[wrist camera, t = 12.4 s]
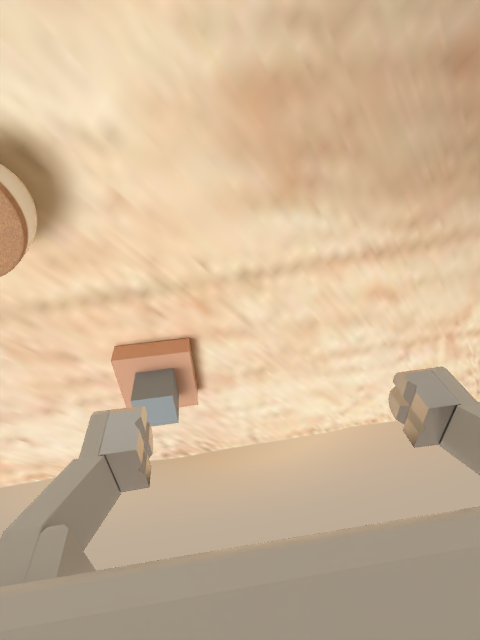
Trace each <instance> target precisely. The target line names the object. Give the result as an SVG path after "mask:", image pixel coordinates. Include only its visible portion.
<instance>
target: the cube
mask: <svg viewBox="0 0 480 640" xmlns="http://www.w3.org/2000/svg"><path fill="white" fill-rule="evenodd" d="M131 404H132V407H142V406H144V407H145V409H146V412H147V422H148V423H150V425H151V426H157V425H165V424H172V423H178V417H179V392H178V388H177V383H176V378H175V373H174V368H170V369H162V370H154V371H146V372H138V373H135V378H134V384H133V390H132V396H131Z"/></svg>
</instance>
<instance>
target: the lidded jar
mask: <svg viewBox="0 0 480 640" xmlns="http://www.w3.org/2000/svg"><path fill="white" fill-rule="evenodd" d="M36 229H37V212H36V208H35V204H34V201H33V199H32V196H31V195H30V193H29V191H28V189H27V188H26V187H25V185H24V184H23V183H22V181H21V180H20V179H19V178H18V177H17V176H16V175H15V174H14V173H12V172H11V171H10V170H9V169H8V168H6V167H5V166H3V165H1V164H0V277H1V276H3V275H5V274H7V273H8V272H10V271H11V270H12V269H13V268H14V267H15V266H16V265H17V264H18V263H19V262H20V261H21V259H22V257H23V255H24V254H25V253H26V252H27V251H28V249H29V247H30V245H31V244H32V242H33V240H34V237H35V233H36Z"/></svg>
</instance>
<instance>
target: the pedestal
mask: <svg viewBox="0 0 480 640" xmlns="http://www.w3.org/2000/svg"><path fill="white" fill-rule="evenodd" d="M111 363H112V366H113V369H114V372H115V375H116V378H117V381H118V384H119V387H120V390H121V393H122V396H123V398H124V401H125V404H126V407H127V408H132V404H131V396H132V390H133V384H134V378H135V373H138V372H146V371H154V370H162V369H170V368H174V373H175V378H176V383H177V388H178V392H179V407H184V406H191V405H198V389H197V383H196V377H195V371H194V365H193V359H192V352H191V346H190V340H189V338H184V339H175V340H167V341H158V342H150V343H141V344H132V345H124V346H115V347H114V351H113V355H112V359H111Z"/></svg>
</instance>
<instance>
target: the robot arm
mask: <svg viewBox="0 0 480 640" xmlns="http://www.w3.org/2000/svg"><path fill="white" fill-rule="evenodd" d="M393 382H394V384H395V385H396V386H395V387H394V388H393V389H392V390H391V391H390V394H389V406H390V409H391V412H392V414H393V415H394V417H395V419H396V420H398V421H400V422H401V423H403V424H404V427H403V431H404V433H405V434H406V436H407V438H408V439H409V441H410V442H411V444H412V445H413V447H414V448H415V447H423V446H431V445H440V446H441V447H442V448H443V449H445V450H446V451H447V452H449V453H450V454H451V455H453V456H454V457H456V458H457V459H458V460H460V461H461V462H462V463H464V464H465V465H466V466H468V467H469V468H471V469H472V470H474V471H475V472H476V473H478V474H479V475H480V402H477V401H476V400H475V399H474V398H473V397H472V396H471V395H470V394H469V392H468V391H467V390H466V389H465V388H464V387H463V386H462V385H461V384H460V383H459V382H458V381H457V380H456V379H455V378H454V376H453V375H452V374H451V373H450V372H449V371H448V370H447V369H446V368H444V367H435V368H428V369H420V370H413V371H406V372H399V373H397V374H396V375H395V376H394V379H393ZM152 453H153V435H152V429H151V425H150V423H148V422H147V412H146V409H145V407H144V406H142V407H132V408H123V409H113V410H107V411H97V412H94V413H93V414H92V416H91V418H90V421H89V425H88V428H87V432H86V435H85V439H84V442H83V446H82V449H81V453H80V456H79V459H74V460H73V461H72V462H71V463H70V464H69V465H68V466H67V467H66V468H65V469H64V470H63V471H62V472H61V473H60V474H59V475H58V476H57V477H56V478H55V479H54V480H53V481H52V482H51V484H50V485H49V486H48V487H47V488H46V489H45V490H44V491H43V492H42V493H41V494H40V495H39V496H38V497H37V498H36V499H35V500H34V501H33V502H32V503H31V504H30V505H29V506H28V507H27V508H26V509H25V510H24V511H23V512H22V513H21V515H19V517H18V518H17V519H16V520H15V521H14V522H13V523H12V524H11V525H10V526H9V527H8V528H7V529H6V530H5V531H4V532H3V534H2V537H1V539H0V640H480V506H479V507H473V508H467V509H461V510H455V511H449V512H443V513H438V514H431V515H425V516H420V517H413V518H407V519H401V520H396V521H389V522H383V523H377V524H371V525H365V526H359V527H354V528H348V529H341V530H336V531H329V532H324V533H318V534H312V535H306V536H300V537H294V538H288V539H282V540H276V541H271V542H264V543H258V544H252V545H246V546H240V547H234V548H228V549H222V550H217V551H211V552H205V553H199V554H193V555H187V556H181V557H175V558H169V559H163V560H157V561H151V562H145V563H139V564H134V565H127V566H121V567H115V568H109V569H104V570H97V571H96V570H95V569H94V567H93V565H92V564H91V562H90V561H89V559H88V558H87V556H86V555H85V553H84V552H83V551H84V550H85V548H86V547H87V545H88V543H89V542H90V540H91V539H92V537H93V536H94V534H95V533H96V531H97V530H98V528H99V527H100V525H101V524H102V522H103V520H104V519H105V518H106V516H107V515H108V513H109V511H110V510H111V508H112V507H113V505H114V504H115V502H116V501H117V499H118V498H119V496H120V495H121V493H120V492H126V491H131V490H136V489H142V488H148V487H149V486H150V475H151V465H150V461H149V458H150V456H151V455H152Z"/></svg>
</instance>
